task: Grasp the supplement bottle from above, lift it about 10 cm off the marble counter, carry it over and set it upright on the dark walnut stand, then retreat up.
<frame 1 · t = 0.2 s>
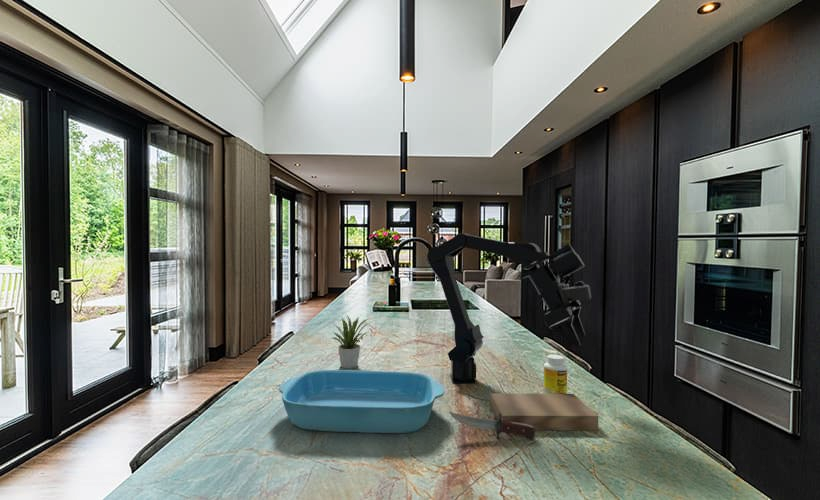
hand: (581, 341, 94), 15 cm above the countertop, tool tilted 30°, fingers open, 9 cm apart
knife: (491, 438, 76), on the countertop
supplement bottle: (555, 397, 97), on the countertop
house plant: (353, 366, 121), on the countertop
walnut stand: (540, 417, 85), on the countertop
casserole dish: (362, 416, 86), on the countertop
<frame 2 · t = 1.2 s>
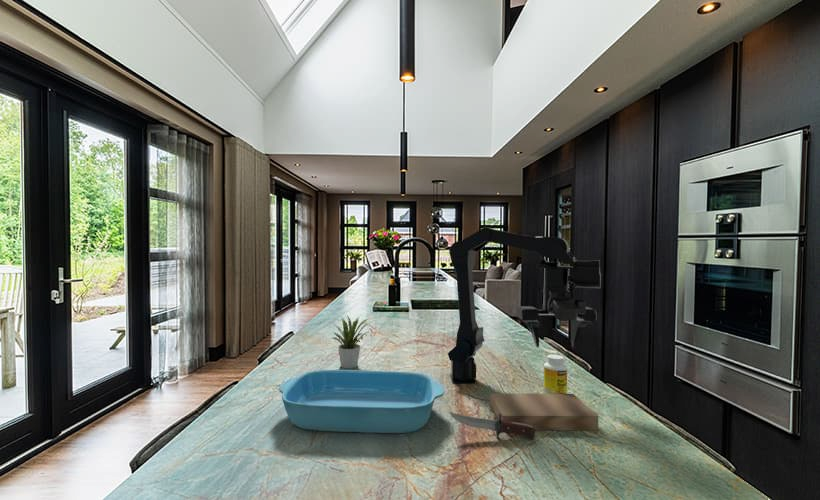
hand: (555, 347, 97), 13 cm above the countertop, tool pointing down, fingers open, 9 cm apart
nothing on the countertop moved.
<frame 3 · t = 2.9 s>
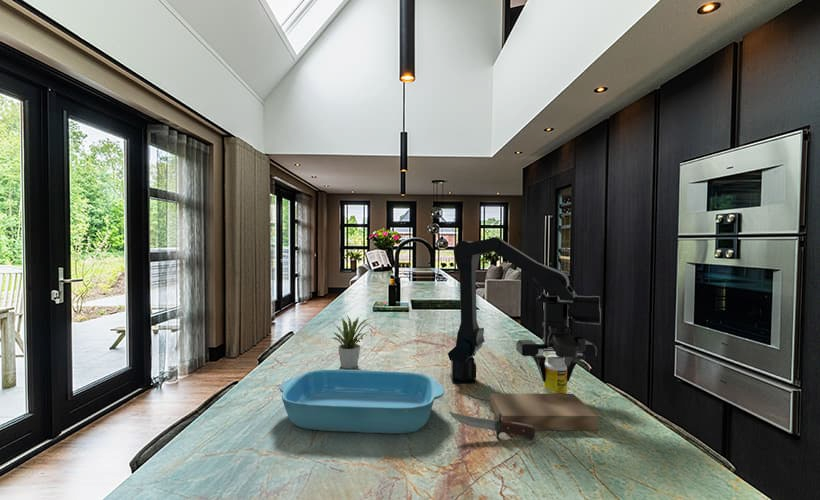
hand: (555, 381, 97), 4 cm above the countertop, tool pointing down, fingers closed on supplement bottle, 5 cm apart
supplement bottle: (555, 397, 97), on the countertop, touching gripper
everything else where it was.
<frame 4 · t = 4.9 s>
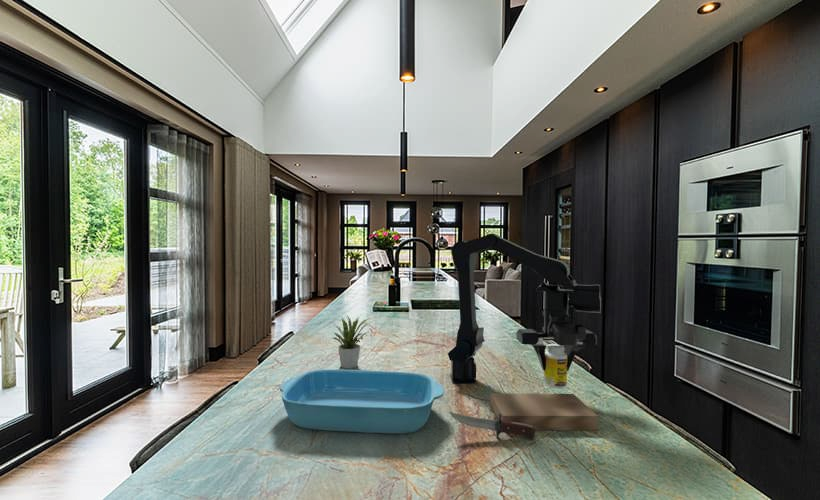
hand: (555, 370, 97), 7 cm above the countertop, tool pointing down, fingers closed on supplement bottle, 5 cm apart
supplement bottle: (555, 386, 97), point 3 cm above the countertop, touching gripper
everything else where it was.
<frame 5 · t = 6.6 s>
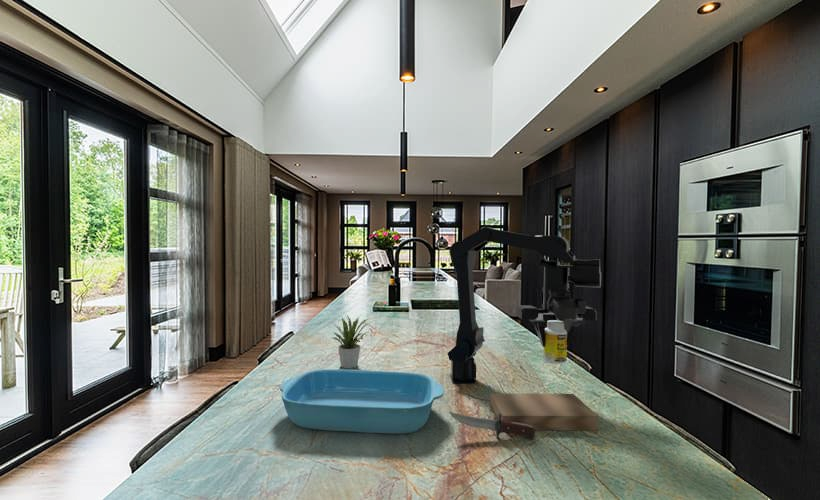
hand: (554, 346, 97), 13 cm above the countertop, tool pointing down, fingers closed on supplement bottle, 5 cm apart
supplement bottle: (554, 362, 97), point 9 cm above the countertop, touching gripper
everything else where it was.
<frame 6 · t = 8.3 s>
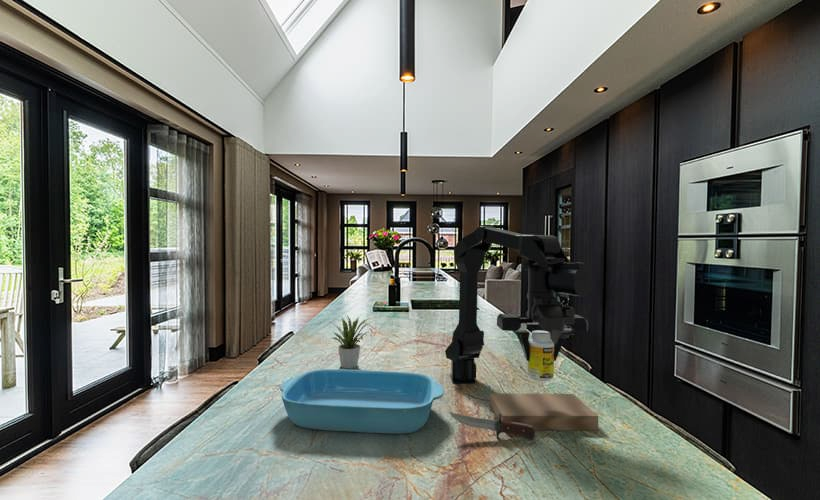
hand: (540, 360, 85), 13 cm above the countertop, tool pointing down, fingers closed on supplement bottle, 5 cm apart
supplement bottle: (540, 378, 85), point 9 cm above the countertop, touching gripper
everything else where it was.
when the fingers open (8 cm above the countertop, at t = 10.0 s): supplement bottle drops 1 cm, resting on walnut stand.
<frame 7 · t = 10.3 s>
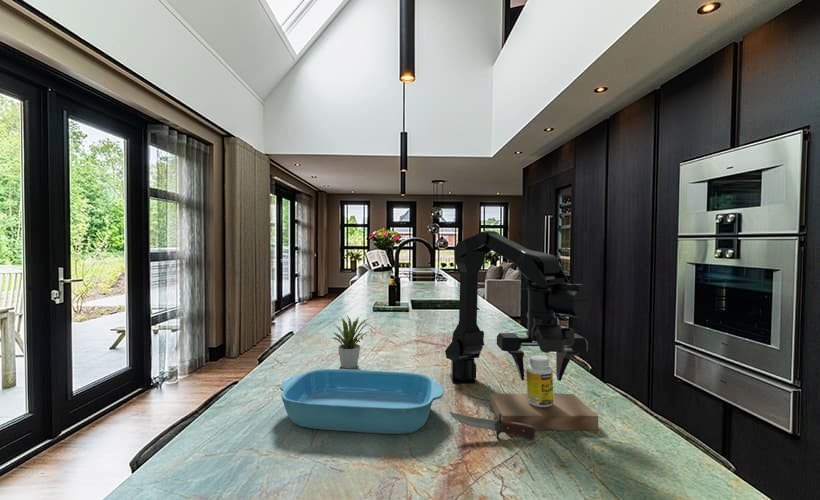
hand: (540, 380, 85), 8 cm above the countertop, tool pointing down, fingers open, 8 cm apart
supplement bottle: (540, 404, 85), point 3 cm above the countertop, touching walnut stand
everything else where it was.
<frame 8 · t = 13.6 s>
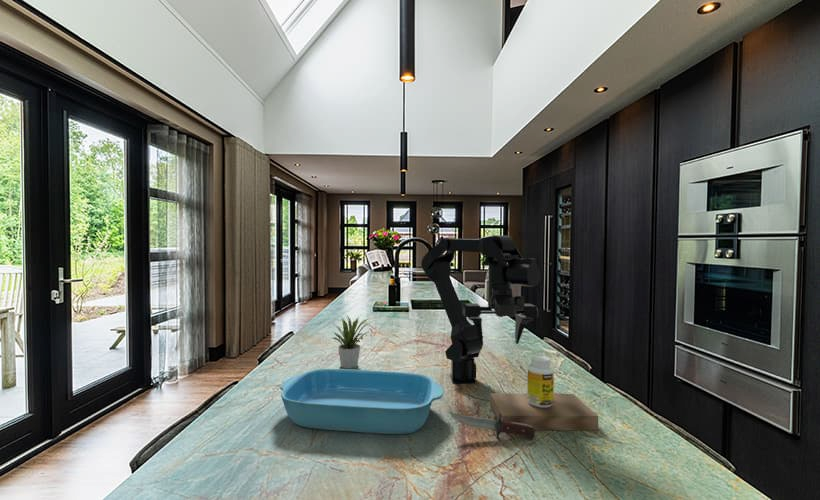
hand: (499, 343, 99), 13 cm above the countertop, tool pointing down, fingers open, 9 cm apart
nothing on the countertop moved.
at the end: supplement bottle inside the target area on the walnut stand (0.1 cm from its centre), point 2.8 cm above the walnut stand's base; supplement bottle tilted 0°; the gripper is holding nothing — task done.
